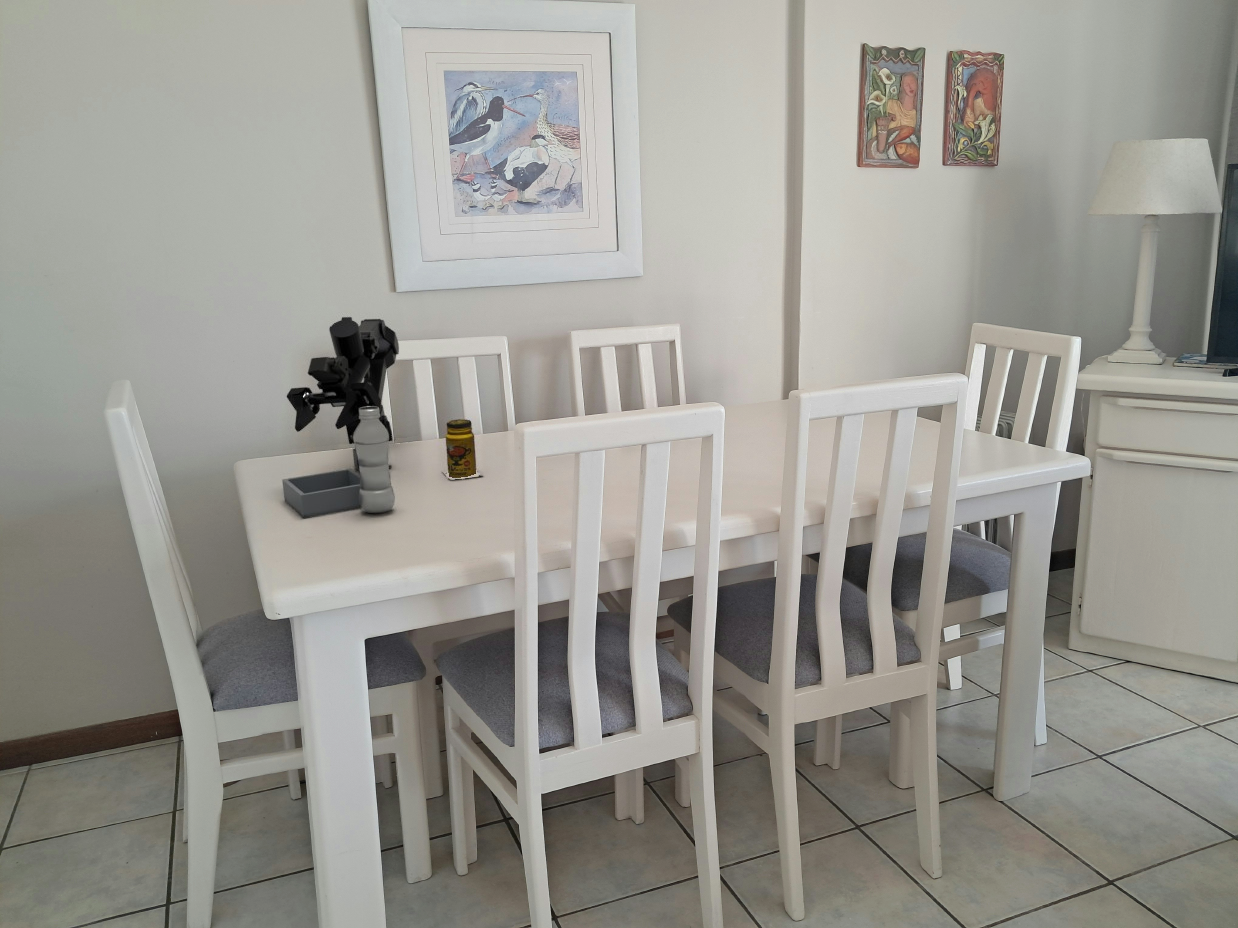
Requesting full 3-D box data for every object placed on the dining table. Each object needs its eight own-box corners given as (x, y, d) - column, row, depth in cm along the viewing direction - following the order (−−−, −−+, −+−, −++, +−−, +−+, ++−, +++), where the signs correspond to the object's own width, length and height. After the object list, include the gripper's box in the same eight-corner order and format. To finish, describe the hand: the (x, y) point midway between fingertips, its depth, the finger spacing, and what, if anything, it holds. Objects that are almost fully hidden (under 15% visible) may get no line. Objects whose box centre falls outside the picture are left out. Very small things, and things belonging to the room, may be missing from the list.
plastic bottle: (378, 518, 171) (368, 412, 166) (352, 513, 175) (342, 409, 170) (403, 509, 177) (395, 406, 172) (378, 504, 180) (369, 403, 175)
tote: (352, 489, 191) (350, 468, 190) (374, 505, 180) (372, 483, 178) (284, 501, 183) (282, 479, 182) (303, 518, 172) (301, 495, 171)
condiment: (450, 481, 196) (446, 426, 192) (441, 472, 203) (437, 418, 200) (483, 477, 198) (480, 422, 195) (473, 468, 206) (470, 415, 203)
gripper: (290, 348, 187) (255, 400, 176) (370, 341, 181) (338, 394, 170) (316, 390, 194) (284, 442, 184) (394, 384, 188) (365, 437, 178)
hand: (316, 428), depth 179 cm, fingers open, 9 cm apart
